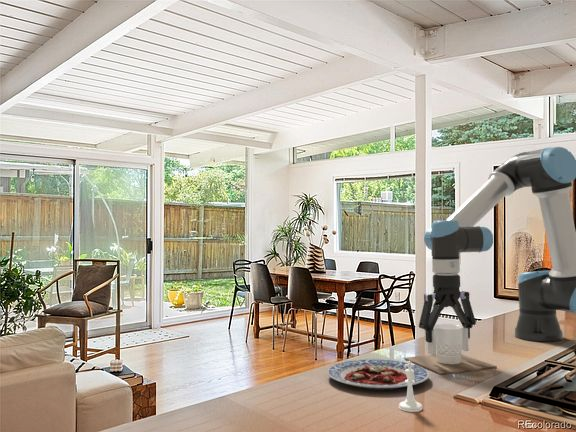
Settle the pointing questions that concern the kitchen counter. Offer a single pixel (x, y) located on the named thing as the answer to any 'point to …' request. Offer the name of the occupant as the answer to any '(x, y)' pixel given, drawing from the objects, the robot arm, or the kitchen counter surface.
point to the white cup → (448, 343)
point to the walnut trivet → (442, 369)
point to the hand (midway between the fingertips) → (448, 352)
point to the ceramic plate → (376, 373)
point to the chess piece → (410, 393)
